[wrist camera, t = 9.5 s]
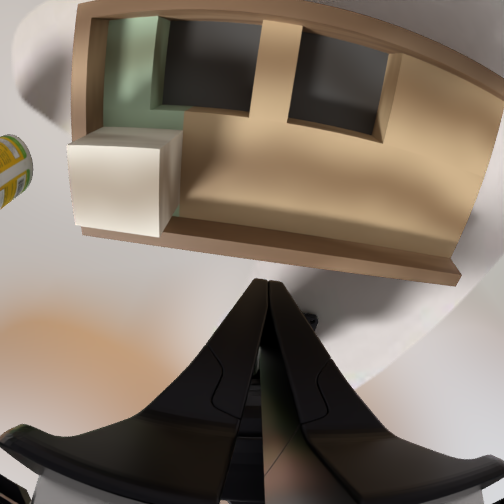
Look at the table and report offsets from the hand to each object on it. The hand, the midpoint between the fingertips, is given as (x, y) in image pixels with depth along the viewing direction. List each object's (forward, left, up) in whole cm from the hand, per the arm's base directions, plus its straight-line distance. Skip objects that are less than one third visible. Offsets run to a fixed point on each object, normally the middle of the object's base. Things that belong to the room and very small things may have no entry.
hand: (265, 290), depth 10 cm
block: (0, +7, -9) cm, 12 cm away
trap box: (+3, -2, -12) cm, 12 cm away
